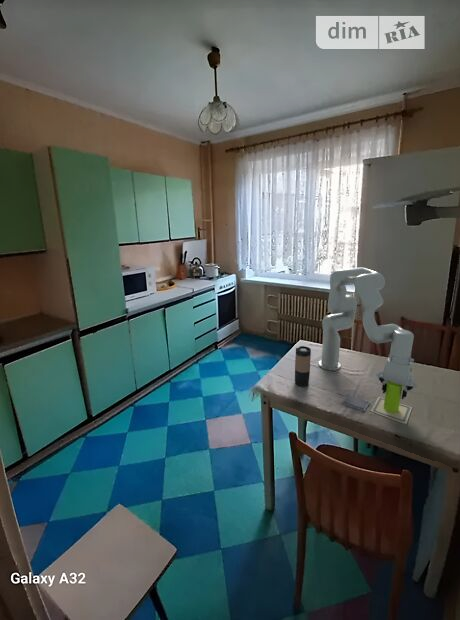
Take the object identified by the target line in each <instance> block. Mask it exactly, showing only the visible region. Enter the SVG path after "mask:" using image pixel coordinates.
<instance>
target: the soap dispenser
mask: <svg viewBox="0 0 460 620" xmlns="http://www.w3.org/2000/svg"><path fill="white" fill-rule="evenodd" d="M402 392H403V386H402V385H400V384H396V383H393V382H389V381H387V387H386V392H385V393H384V394H385V396H384V398H385V401H384V409H385V410H387V411H389V412H398V410H399V404H401V399H402Z"/></svg>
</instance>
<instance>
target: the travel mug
mask: <svg viewBox="0 0 460 620" xmlns="http://www.w3.org/2000/svg"><path fill="white" fill-rule="evenodd" d="M311 357H312V349H311V348H310V347H308V346H305V345H304V346H302V345H300V346H298V347H296V348H295V359H294V384H295V386H297V387H300V388H306V387H308V386H309V384H310V373H311Z"/></svg>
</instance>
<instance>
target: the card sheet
mask: <svg viewBox="0 0 460 620" xmlns="http://www.w3.org/2000/svg"><path fill="white" fill-rule="evenodd" d="M384 401H385V397H382V396H378V397H377V399H376V401H375V402H374V404H373V406H372V408H371V409H370V412H371V413H373V414H376V415H379V416H382V417H384V418H387V419H390V420H393V421H395V422H399V423H401V424H404V425H407V423H408V420H409V418H410V416H411V412H412V410H413V407H412V406H409V405H406V404H404V403H403V404H402V403H400V404H399V410H398V412H389V411H387V410H385V409H384Z"/></svg>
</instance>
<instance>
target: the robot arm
mask: <svg viewBox="0 0 460 620" xmlns="http://www.w3.org/2000/svg"><path fill="white" fill-rule="evenodd" d="M352 285H354V288H355V290H356V292H357V294H358V297H359V299H360V302H361V303H362V305H363V308H364V309H363V313H362V325H363V328H364V331H365V333H366V335H367V337H368V339H369V340H370V341H371V342H372V343H375V344H384V343H388V342H391V346H390V351H389V354H390V357H388V356H387V359H386V361H385V364H384V369H383V370H380V371H378V372H376V373H375V376H376V377H377V378H378V381H380V383H381V385H382V386H381V390H382V394H386V387H387V381H389V382H393V383H396V384H400V385H402V392H401V399H402V400H404V399H405V398H407V395H408V391H411V390H412V389H414V388H415V389H416V388H417V387H418V383H417V382H416V381H415V380H414V379H413V378H412V370H413V369H412V368H413V367H412V366H413V365H412V363H414V362H415V359H414V358H412V350H413V344H414V338H415V335H414V333H413V332H412V331H410V330H407V329H404V328H402V327H401V326H399V325H398V324H397V323H396V324H395V323H388V324H381V325H378V324H377V321H376V318H375V312H376V310H377V309H378V308H380V307H381V306H383V304H384V299H383V297H382V295H381V293H380V291H379V290H383V289H384V287H385V285H386V279H385V277H384V276H383V274H382V273H380V272H378V271H374V270H371V269H368V268H366V267H350V268H339V269H336V270H333V272H331V274H330V276H329V287H330V288H329V293H328V294H329V295H328V299H327V311H328V312H329V313H330V314H327V315H325V316H324V317H323V319H322V320H321V323H322V324H321V326H322V349H321V359H320V360H319V361H318V366H319V367H320V368H322V369H323V370H326V371H327V370H328V371H337V370H339V369H341V368H342V363H340V361H339V359H340V347H341V336H340V334H339V333H338V332H339V331H342V330H348V329H351V328H352V327H353V325H354V322H355V317H356V312H357V308H358V307H357V306H358V304H357V303H358V302H357V300H356V298H355V296H354V295H351V294H347V292H348V291H347V286H352ZM409 383H411V384H409Z"/></svg>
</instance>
